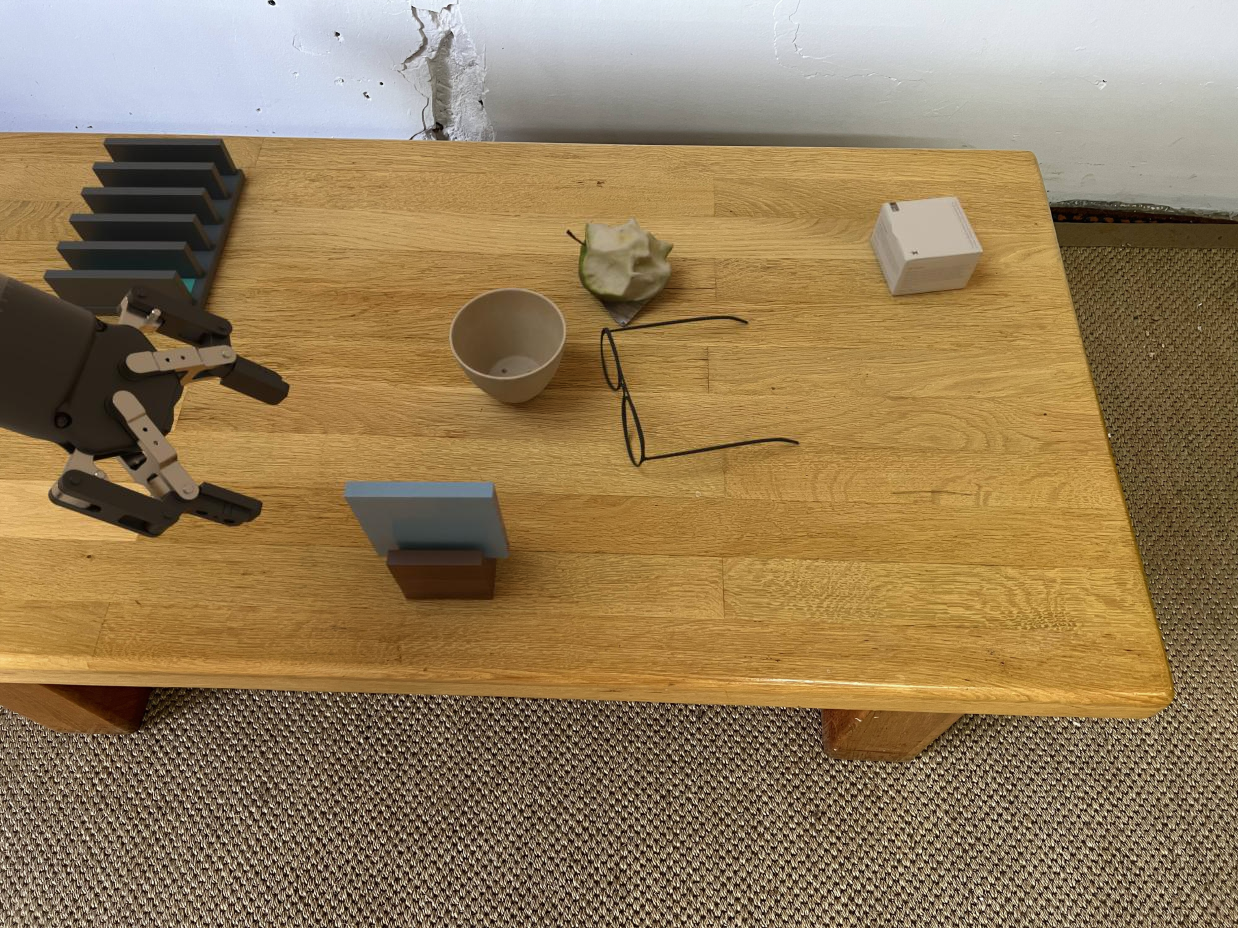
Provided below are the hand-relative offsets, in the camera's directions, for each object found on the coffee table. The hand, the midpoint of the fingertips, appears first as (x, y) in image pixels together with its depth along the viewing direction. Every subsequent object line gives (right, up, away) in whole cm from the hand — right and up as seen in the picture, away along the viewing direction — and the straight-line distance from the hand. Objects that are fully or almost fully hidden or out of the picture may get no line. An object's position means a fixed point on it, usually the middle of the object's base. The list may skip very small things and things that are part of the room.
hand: (270, 452), depth 54 cm
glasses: (+29, +5, +25) cm, 38 cm away
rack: (-25, +22, +34) cm, 47 cm away
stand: (+8, -9, +16) cm, 20 cm away
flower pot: (+12, +7, +26) cm, 29 cm away
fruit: (+22, +17, +32) cm, 42 cm away
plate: (+8, -7, +13) cm, 17 cm away
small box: (+52, +19, +33) cm, 64 cm away
